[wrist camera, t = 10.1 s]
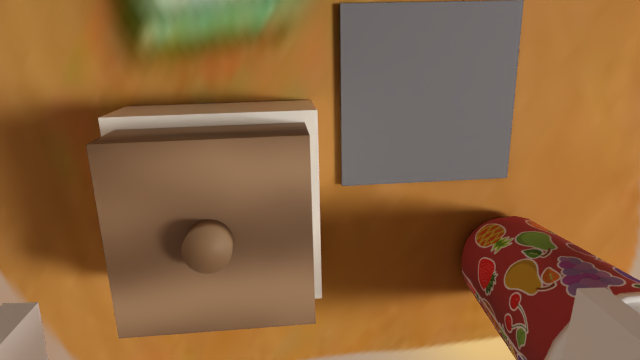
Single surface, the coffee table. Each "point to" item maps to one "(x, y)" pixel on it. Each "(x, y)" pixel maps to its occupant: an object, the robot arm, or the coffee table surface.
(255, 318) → the lid
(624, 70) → the coffee table surface
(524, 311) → the smoothie
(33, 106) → the coffee table surface
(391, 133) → the mat
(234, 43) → the coffee table surface
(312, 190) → the dish
